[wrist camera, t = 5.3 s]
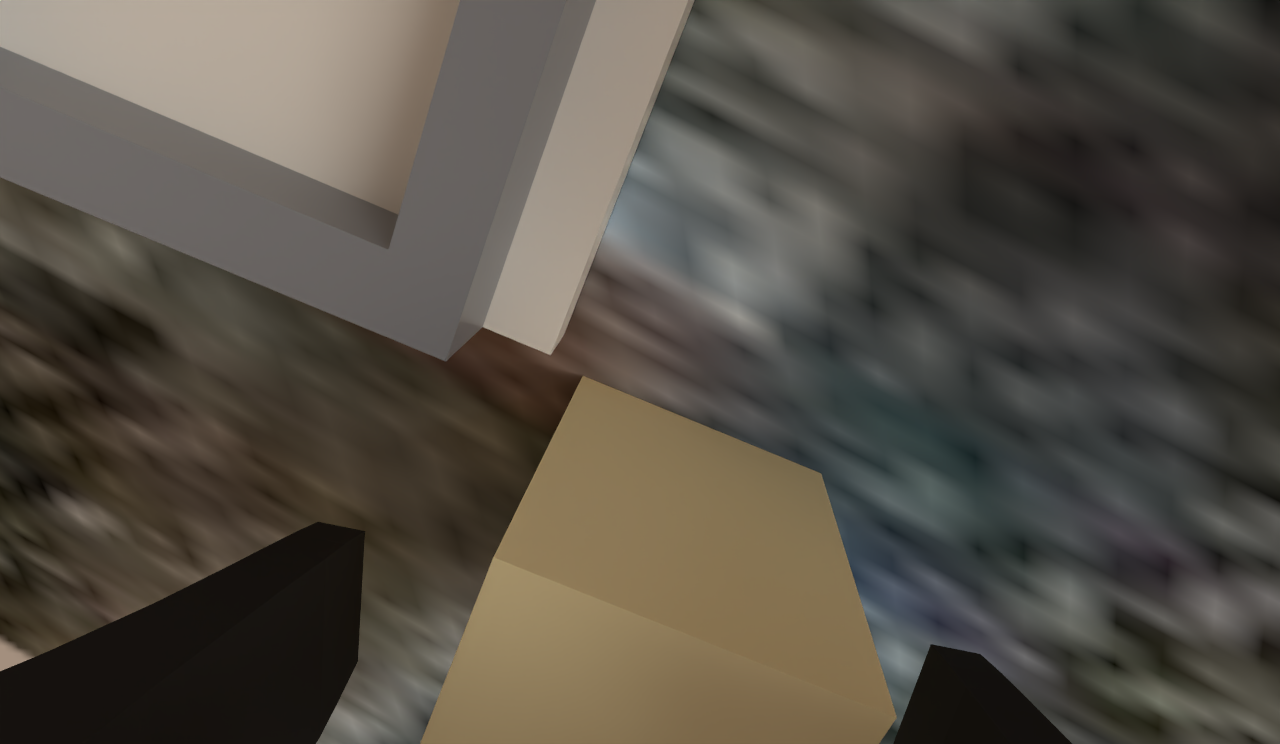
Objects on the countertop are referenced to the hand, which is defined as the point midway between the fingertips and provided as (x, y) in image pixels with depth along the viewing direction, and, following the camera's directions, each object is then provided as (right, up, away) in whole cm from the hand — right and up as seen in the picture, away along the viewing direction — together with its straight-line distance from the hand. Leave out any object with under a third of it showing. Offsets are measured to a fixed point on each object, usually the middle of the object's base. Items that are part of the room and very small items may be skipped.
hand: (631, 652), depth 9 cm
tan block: (0, +1, +3) cm, 3 cm away
